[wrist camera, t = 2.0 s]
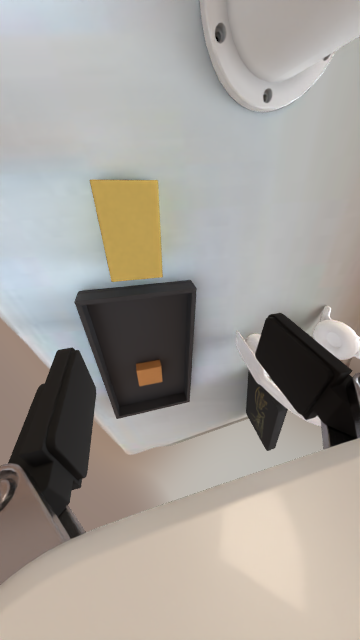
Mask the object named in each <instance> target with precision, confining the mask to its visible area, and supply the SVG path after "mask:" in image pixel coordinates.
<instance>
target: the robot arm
mask: <svg viewBox="0 0 360 640" xmlns="http://www.w3.org/2000/svg"><path fill="white" fill-rule="evenodd" d="M200 10H201V19H202V25H203V31H204V37H205V42H206V45H207V49H208V52H209V55H210V59H211V62H212V65H213V67H214V69H215V71H216V74H217V76H218V78H219V80H220V82H221V83H222V85H223V86H224V88H225V89H226V91H227V92H228V94H229V95H230V96H231V97H232V98H233V99H234V100H235V101H236V102H238V103H239V104H240V105H242V106H243V107H245V108H247V109H249V110H252V111H258V112H268V111H274V110H277V109H279V108H282V107H284V106H286V105H288V104H290V103H292V102H293V101H295V100H297V99H298V98H299V97H301V96H302V95H303V94H304V93H305V92H306V91H307V90H309V89H310V88H311V87H312V85H313V84H314V83H315V82H316V81H317V79H318V78H319V77H320V76H321V75H322V73H323V72H324V70H325V69H326V67H327V66H328V64H329V63H330V61H331V60H332V58H333V56H334V54H335V52H336V50H338V49H339V48H341V47H343V46H344V45H346V44H348V43H349V42H351V41H352V40H354V39H356V38H357V37H359V36H360V0H200ZM215 35H216V36H217V37H218V40H219V42H217V40H216V38H215ZM263 97H264V100H263ZM255 356H256V359H257V360H258V362H259V363H260V364H261V366H262V367H263V368H264V370H265V371H266V372H267V374H268V375H269V376H270V377H271V379H272V380H273V381H274V383H275V384H276V385H277V387H278V388H279V389H280V391H281V392H282V393H283V394H284V396H285V397H286V398H287V400H288V401H289V402H290V404H291V405H292V406H293V408H294V409H295V410H296V411H297V412H298V413H299V414H301V415H302V416H303V417H304V419H305V420H309V419H312V418H315V417H316V416H318V417H319V418H320V420H321V428H322V438H323V449H324V450H321V451H318V452H315V453H312V454H309V455H306V456H303V457H300V458H297V459H294V460H291V461H288V462H285V463H282V464H279V465H276V466H274V467H270V468H268V469H264V470H262V471H259V472H256V473H253V474H250V475H247V476H244V477H241V478H238V479H235V480H232V481H229V482H226V483H223V484H220V485H217V486H215V487H212V488H209V489H206V490H203V491H200V492H197V493H194V494H192V495H189V496H186V497H183V498H180V499H177V500H174V501H171V502H168V503H165V504H162V505H160V506H157V507H154V508H151V509H148V510H145V511H143V512H140V513H137V514H134V515H132V516H129V517H126V518H123V519H121V520H118V521H115V522H112V523H110V524H107V525H104V526H102V527H99V528H96V529H94V530H91V531H89V532H87V533H86V531H85V530H84V528H83V527H82V526H81V524H80V523H79V521H78V519H77V518H76V516H75V515H74V514H73V512H72V511H71V509H70V508H69V506H68V504H69V503H70V497H71V490H74V489H78V488H80V487H81V482H82V478H85V477H86V475H87V470H88V460H89V452H90V443H91V435H92V426H93V417H94V408H95V399H96V387H95V385H94V383H93V380H92V378H91V376H90V374H89V371H88V369H87V367H86V365H85V362H84V360H83V358H82V356H81V353H80V351H79V350H75V349H74V348H67V349H61V350H58V351H57V352H56V355H55V358H54V360H53V363H52V366H51V368H50V372H49V374H48V377H47V379H46V382H45V384H42V385H40V386H39V388H38V390H37V392H36V394H35V397H34V399H33V402H32V404H31V407H30V409H29V413H28V415H27V417H26V420H25V422H24V425H23V427H22V430H21V432H20V435H19V437H18V440H17V442H16V445H15V447H14V450H13V452H12V455H11V458H10V460H9V462H8V464H4V465H1V466H0V640H360V373H357V374H355V375H354V376H353V377H351V376H350V375H349V374H350V373H351V372H352V370H351V369H350V368H349V367H347V366H346V365H345V364H344V363H342V362H341V361H340V360H339V359H338V358H336V357H335V356H334V355H333V354H331V353H330V352H329V351H328V350H327V349H325V348H324V347H323V346H322V345H320V344H319V343H318V342H317V341H316V340H314V339H313V338H312V337H311V336H309V335H308V334H307V333H306V332H305V331H303V330H302V329H301V328H300V327H298V326H297V325H296V324H295V323H294V322H292V321H291V320H290V319H289V318H287V317H286V316H285V315H284V314H282V313H277V314H271V315H269V316H268V318H267V319H266V320H265V323H264V327H263V330H262V333H261V336H260V340H259V343H258V346H257V349H256V352H255Z"/></svg>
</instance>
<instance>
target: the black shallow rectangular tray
mask: <svg viewBox="0 0 360 640" xmlns="http://www.w3.org/2000/svg"><path fill="white" fill-rule="evenodd" d="M195 304H196V287H195V286H194V284H193V283H192V281H191V280H187V281H177V282H167V283H157V284H148V285H138V286H128V287H118V288H108V289H98V290H88V291H79V292H78V294H77V297H76V299H75V305H76V307H77V310H78V313H79V316H80V319H81V321H82V324H83V327H84V330H85V332H86V335H87V338H88V341H89V344H90V346H91V349H92V352H93V355H94V357H95V360H96V363H97V366H98V368H99V371H100V374H101V377H102V380H103V382H104V385H105V388H106V391H107V393H108V396H109V399H110V402H111V405H112V407H113V410H114V413H115V416H116V418H117V419H119V418H123V417H127V416H132V415H136V414H140V413H144V412H148V411H153V410H157V409H161V408H165V407H170V406H174V405H178V404H182V403H187V402H190V386H191V370H192V353H193V337H194V321H195ZM155 360H160V363H161V369H162V382H159V383H154V384H149V385H144V386H139V382H138V377H137V371H136V364H138V363H144V362H149V361H155Z"/></svg>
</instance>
